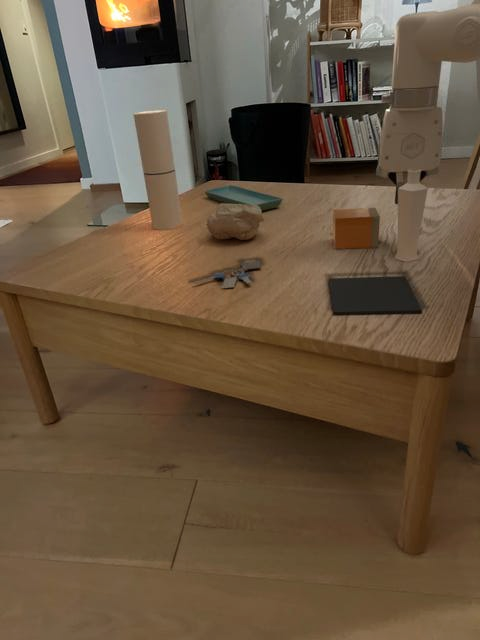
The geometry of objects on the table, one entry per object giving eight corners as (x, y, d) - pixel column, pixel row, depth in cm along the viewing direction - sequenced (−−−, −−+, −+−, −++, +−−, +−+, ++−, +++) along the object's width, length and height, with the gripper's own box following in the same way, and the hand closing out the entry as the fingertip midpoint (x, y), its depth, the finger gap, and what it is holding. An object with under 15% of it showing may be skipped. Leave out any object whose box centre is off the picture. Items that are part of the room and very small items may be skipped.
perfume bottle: (415, 264, 81) (424, 174, 74) (390, 260, 83) (396, 172, 76) (424, 255, 84) (434, 168, 77) (400, 251, 86) (407, 166, 79)
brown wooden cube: (373, 237, 95) (375, 207, 92) (378, 247, 89) (379, 216, 86) (332, 239, 96) (333, 209, 93) (334, 249, 90) (335, 218, 88)
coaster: (404, 278, 76) (405, 275, 76) (422, 313, 65) (422, 310, 65) (328, 281, 77) (328, 278, 77) (333, 315, 67) (333, 311, 67)
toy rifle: (251, 261, 88) (251, 257, 88) (284, 271, 82) (284, 266, 82) (192, 286, 80) (191, 281, 79) (224, 299, 74) (223, 294, 74)
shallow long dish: (203, 197, 135) (202, 189, 134) (231, 191, 139) (230, 183, 138) (253, 215, 115) (253, 205, 114) (284, 208, 119) (283, 198, 118)
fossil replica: (208, 234, 105) (210, 252, 97) (201, 198, 101) (202, 214, 92) (262, 224, 105) (268, 242, 97) (257, 188, 101) (263, 203, 92)
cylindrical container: (148, 230, 111) (128, 114, 100) (158, 221, 117) (140, 111, 106) (177, 229, 110) (160, 112, 98) (186, 220, 116) (171, 109, 104)
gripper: (370, 104, 77) (364, 214, 86) (467, 98, 75) (450, 211, 84) (365, 100, 84) (359, 204, 93) (453, 95, 82) (439, 201, 91)
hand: (403, 207), depth 88 cm, fingers closed
